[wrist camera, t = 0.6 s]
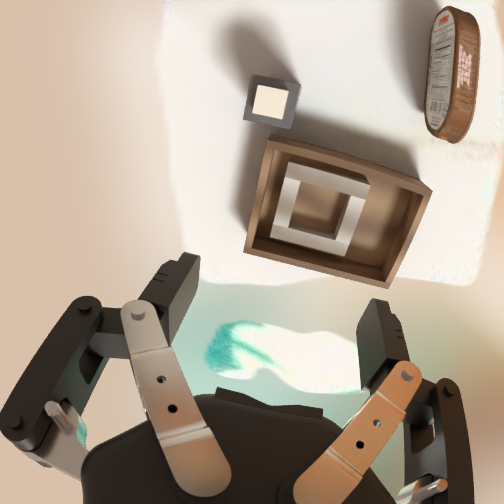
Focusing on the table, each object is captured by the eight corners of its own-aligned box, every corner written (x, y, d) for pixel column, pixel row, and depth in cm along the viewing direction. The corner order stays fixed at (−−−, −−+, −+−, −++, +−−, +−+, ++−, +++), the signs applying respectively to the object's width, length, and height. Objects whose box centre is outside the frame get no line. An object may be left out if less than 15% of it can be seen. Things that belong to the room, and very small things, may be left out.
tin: (438, 137, 27) (473, 152, 20) (414, 130, 28) (446, 143, 21) (449, 20, 20) (485, 8, 13) (425, 11, 20) (457, -6, 13)
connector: (264, 79, 28) (249, 73, 20) (301, 87, 28) (300, 84, 20) (257, 113, 30) (240, 120, 23) (293, 121, 30) (289, 131, 22)
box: (271, 134, 31) (267, 139, 28) (420, 180, 30) (432, 191, 27) (249, 236, 38) (243, 252, 34) (381, 271, 37) (388, 289, 34)
